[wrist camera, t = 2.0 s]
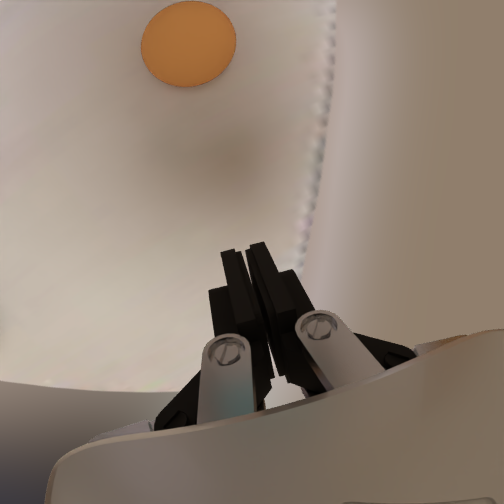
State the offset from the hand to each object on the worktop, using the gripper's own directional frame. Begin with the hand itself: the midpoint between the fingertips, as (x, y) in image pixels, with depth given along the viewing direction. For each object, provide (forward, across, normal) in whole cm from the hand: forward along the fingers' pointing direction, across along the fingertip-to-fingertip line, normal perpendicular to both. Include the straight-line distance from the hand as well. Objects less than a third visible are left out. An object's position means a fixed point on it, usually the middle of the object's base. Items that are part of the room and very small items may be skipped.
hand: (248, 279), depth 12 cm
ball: (+11, 0, -10) cm, 15 cm away
